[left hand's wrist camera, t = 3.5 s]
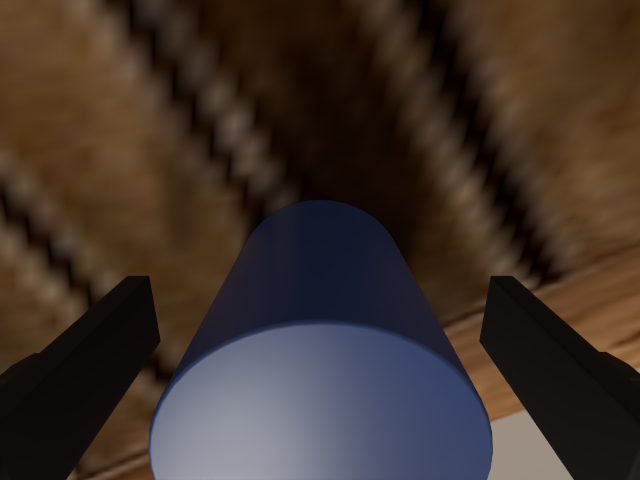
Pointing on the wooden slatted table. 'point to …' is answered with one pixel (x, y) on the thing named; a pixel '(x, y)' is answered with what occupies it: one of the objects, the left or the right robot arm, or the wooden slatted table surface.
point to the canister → (320, 366)
